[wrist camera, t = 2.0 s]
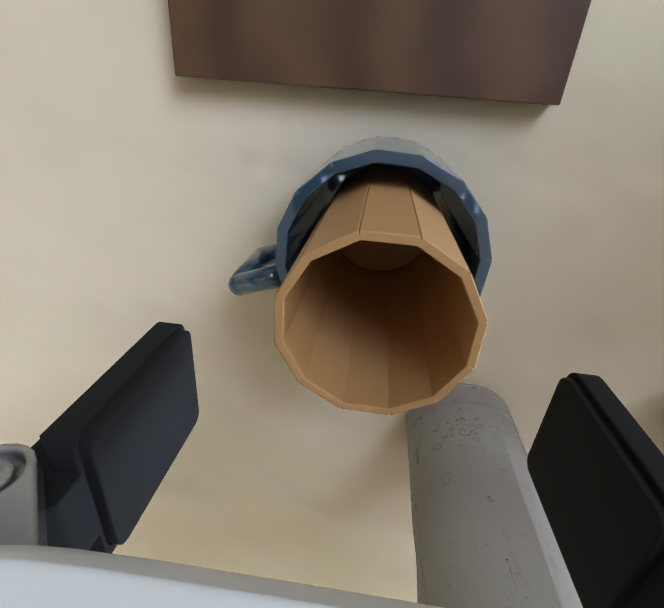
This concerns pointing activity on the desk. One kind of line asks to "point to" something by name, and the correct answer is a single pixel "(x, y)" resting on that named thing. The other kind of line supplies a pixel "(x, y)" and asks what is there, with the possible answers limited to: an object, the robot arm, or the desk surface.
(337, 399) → the paper cup
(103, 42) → the desk surface
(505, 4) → the serving board
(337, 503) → the desk surface
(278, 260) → the mug
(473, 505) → the thermos bottle
